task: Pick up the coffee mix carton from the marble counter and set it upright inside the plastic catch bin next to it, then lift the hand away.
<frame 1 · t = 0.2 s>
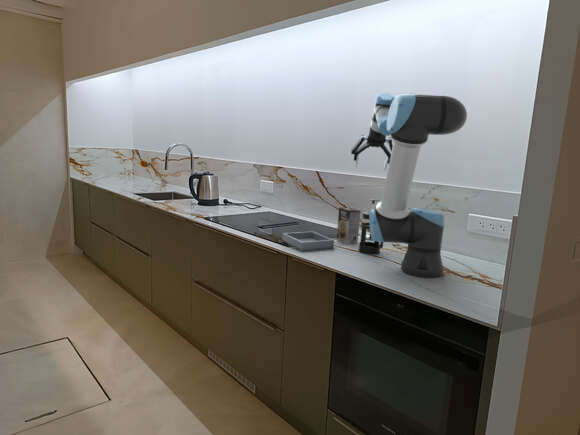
hand: (370, 167, 193), 35 cm above the worktop, tool tilted 35°, fingers open, 13 cm apart
catch bin: (307, 245, 183), on the worktop
french press: (369, 252, 177), on the worktop
coffee box: (346, 243, 192), on the worktop
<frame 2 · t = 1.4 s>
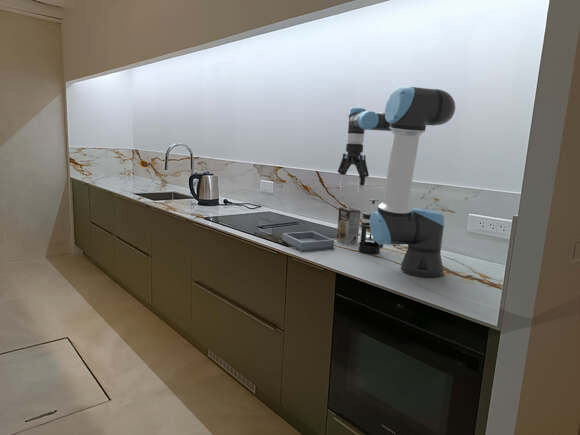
hand: (351, 190, 188), 25 cm above the worktop, tool pointing down, fingers open, 13 cm apart
nothing on the worktop moved.
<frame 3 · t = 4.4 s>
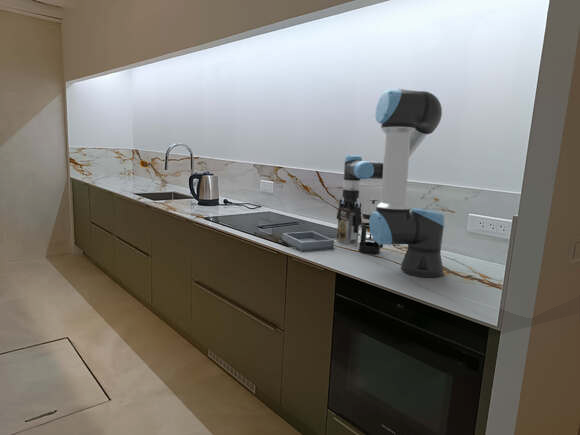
hand: (347, 237, 192), 3 cm above the worktop, tool pointing down, fingers closed on coffee box, 9 cm apart
coffee box: (346, 243, 192), on the worktop, touching gripper
everything else where it was.
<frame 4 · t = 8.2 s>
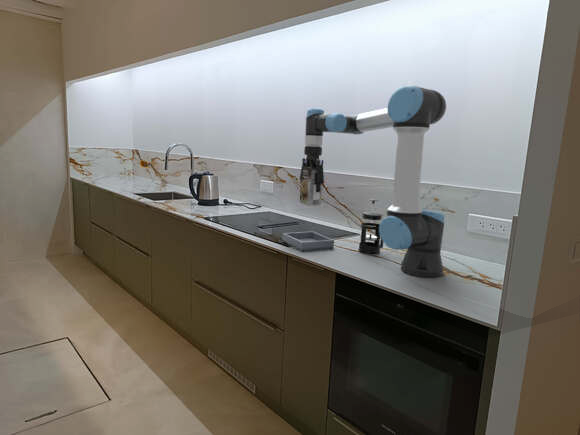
hand: (310, 198, 179), 21 cm above the worktop, tool pointing down, fingers closed on coffee box, 9 cm apart
coffee box: (310, 204, 180), point 18 cm above the worktop, touching gripper
everything else where it was.
when the fingers open (5 cm above the worktop, at t = 12.1 s): coffee box drops 1 cm, resting on catch bin.
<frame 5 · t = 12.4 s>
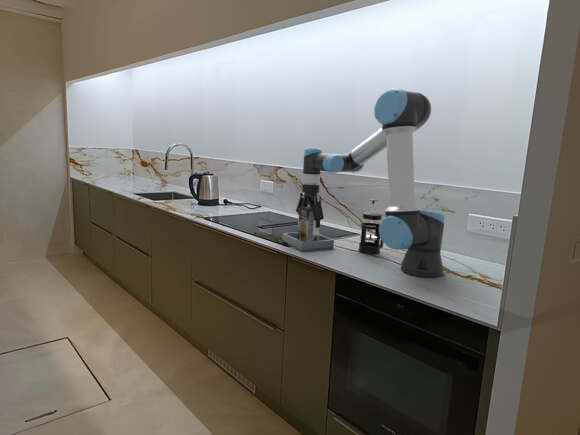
hand: (308, 231, 182), 6 cm above the worktop, tool pointing down, fingers open, 13 cm apart
coffee box: (307, 243, 183), point 1 cm above the worktop, touching catch bin
everything else where it was.
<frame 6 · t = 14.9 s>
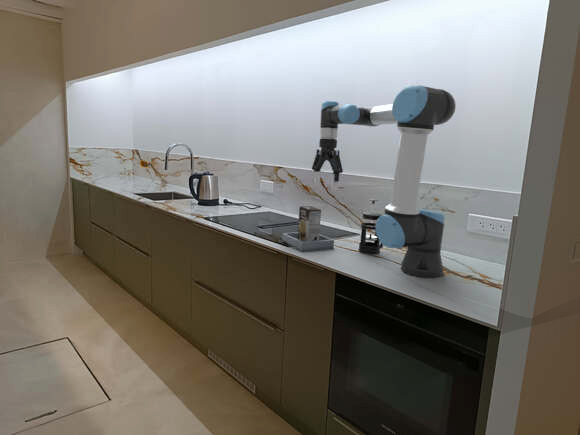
hand: (325, 187, 180), 26 cm above the worktop, tool pointing down, fingers open, 13 cm apart
nothing on the worktop moved.
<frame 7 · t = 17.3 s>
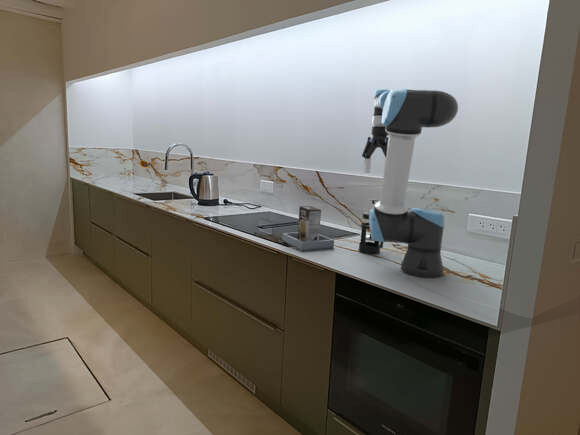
hand: (376, 174, 185), 33 cm above the worktop, tool pointing down, fingers open, 13 cm apart
nothing on the worktop moved.
at the end: coffee box inside the target area on the catch bin (0.4 cm from its centre), point 0.8 cm above the catch bin's base; coffee box tilted 0°; the gripper is holding nothing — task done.
